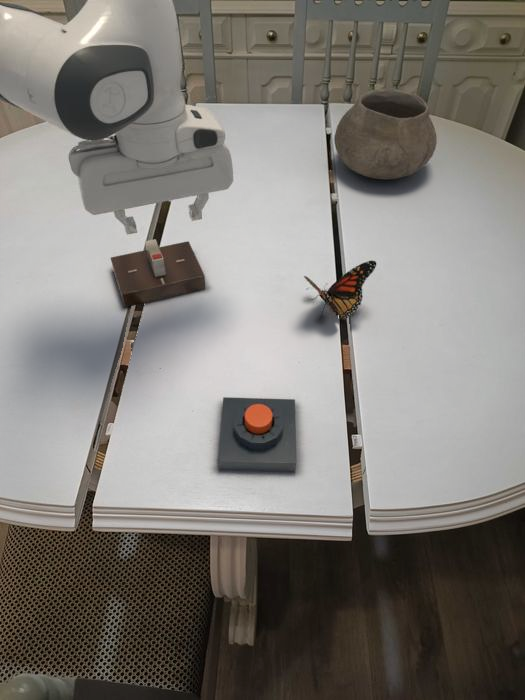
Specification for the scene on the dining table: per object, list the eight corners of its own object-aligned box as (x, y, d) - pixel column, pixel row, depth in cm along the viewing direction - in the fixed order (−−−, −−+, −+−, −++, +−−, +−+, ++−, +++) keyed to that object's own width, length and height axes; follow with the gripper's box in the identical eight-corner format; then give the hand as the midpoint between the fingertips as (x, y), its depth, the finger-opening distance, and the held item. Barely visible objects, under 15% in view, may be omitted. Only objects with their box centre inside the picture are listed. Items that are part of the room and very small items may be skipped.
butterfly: (348, 283, 93) (357, 237, 86) (376, 320, 88) (388, 274, 80) (285, 300, 90) (288, 253, 83) (309, 339, 84) (315, 293, 77)
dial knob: (147, 257, 92) (144, 240, 89) (158, 255, 93) (155, 237, 90) (155, 277, 89) (152, 259, 86) (165, 274, 89) (163, 257, 86)
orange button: (244, 434, 68) (244, 426, 67) (245, 410, 71) (245, 403, 70) (272, 434, 68) (272, 427, 67) (272, 411, 71) (272, 404, 70)
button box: (218, 469, 69) (217, 453, 66) (223, 406, 76) (222, 389, 73) (295, 471, 69) (297, 456, 66) (293, 408, 76) (295, 391, 73)
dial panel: (124, 307, 88) (121, 293, 86) (113, 270, 94) (110, 256, 92) (205, 288, 92) (204, 274, 89) (189, 254, 98) (188, 240, 95)
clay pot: (349, 137, 128) (359, 72, 117) (437, 157, 123) (456, 91, 111) (317, 180, 115) (324, 112, 104) (413, 206, 110) (432, 136, 98)
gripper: (68, 157, 61) (94, 253, 71) (237, 129, 66) (237, 222, 76) (60, 131, 64) (85, 226, 75) (220, 107, 70) (223, 199, 80)
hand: (163, 224), depth 76 cm, fingers open, 8 cm apart
